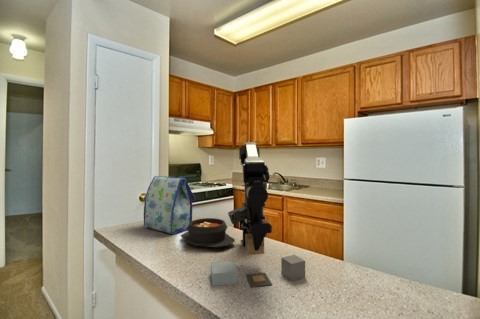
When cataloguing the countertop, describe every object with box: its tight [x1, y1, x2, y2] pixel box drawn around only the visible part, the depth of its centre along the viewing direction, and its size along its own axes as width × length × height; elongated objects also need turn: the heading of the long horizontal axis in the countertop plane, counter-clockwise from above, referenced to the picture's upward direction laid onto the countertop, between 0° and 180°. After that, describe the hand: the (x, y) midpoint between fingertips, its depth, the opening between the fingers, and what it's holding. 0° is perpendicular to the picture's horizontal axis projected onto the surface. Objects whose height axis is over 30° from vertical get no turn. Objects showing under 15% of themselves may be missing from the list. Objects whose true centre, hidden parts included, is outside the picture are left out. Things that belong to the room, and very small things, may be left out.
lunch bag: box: [143, 175, 196, 235], centre depth 123 cm, size 22×17×26 cm
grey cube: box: [280, 254, 306, 282], centre depth 74 cm, size 5×5×5 cm
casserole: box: [180, 217, 236, 248], centre depth 103 cm, size 25×19×8 cm
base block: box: [210, 260, 238, 286], centre depth 72 cm, size 7×7×4 cm
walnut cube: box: [244, 234, 265, 256], centre depth 80 cm, size 5×5×5 cm
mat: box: [245, 272, 273, 288], centre depth 71 cm, size 7×6×1 cm
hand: (254, 247), depth 80 cm, fingers closed on walnut cube, 5 cm apart
